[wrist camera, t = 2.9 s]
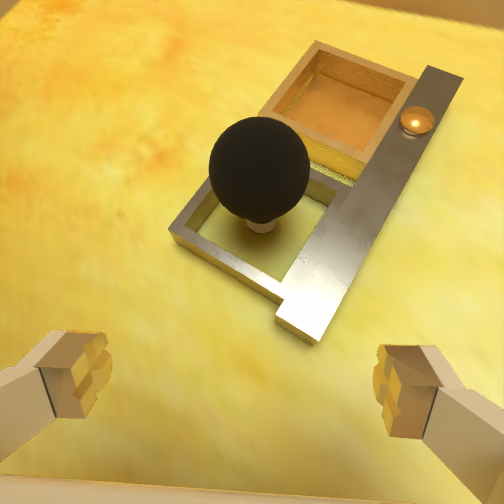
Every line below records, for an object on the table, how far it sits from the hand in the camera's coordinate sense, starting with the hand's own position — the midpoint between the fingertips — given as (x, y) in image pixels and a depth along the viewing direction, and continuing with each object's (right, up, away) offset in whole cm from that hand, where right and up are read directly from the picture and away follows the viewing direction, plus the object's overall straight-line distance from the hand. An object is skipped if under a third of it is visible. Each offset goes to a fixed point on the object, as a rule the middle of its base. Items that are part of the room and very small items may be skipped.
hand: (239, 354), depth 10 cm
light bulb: (+1, +5, +16) cm, 17 cm away
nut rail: (+6, +9, +17) cm, 20 cm away
